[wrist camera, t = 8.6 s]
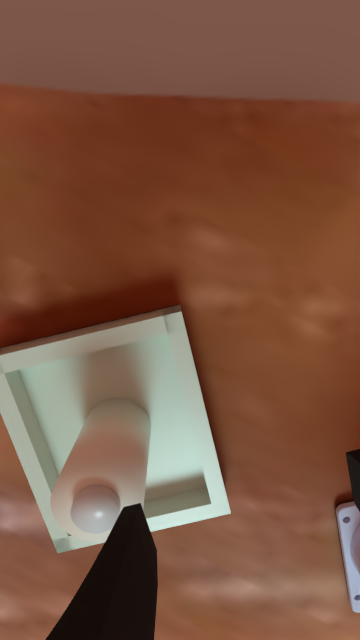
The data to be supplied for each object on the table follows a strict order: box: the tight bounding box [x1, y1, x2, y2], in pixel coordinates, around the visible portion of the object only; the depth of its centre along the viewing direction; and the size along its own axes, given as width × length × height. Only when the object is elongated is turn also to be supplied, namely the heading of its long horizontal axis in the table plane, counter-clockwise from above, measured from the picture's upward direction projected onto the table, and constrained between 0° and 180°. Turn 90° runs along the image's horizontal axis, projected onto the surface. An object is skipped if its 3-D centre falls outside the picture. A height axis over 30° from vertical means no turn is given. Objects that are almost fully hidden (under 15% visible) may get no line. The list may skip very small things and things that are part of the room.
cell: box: [50, 398, 151, 542], centre depth 17 cm, size 4×4×6 cm
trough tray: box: [0, 305, 231, 553], centre depth 19 cm, size 13×11×2 cm
